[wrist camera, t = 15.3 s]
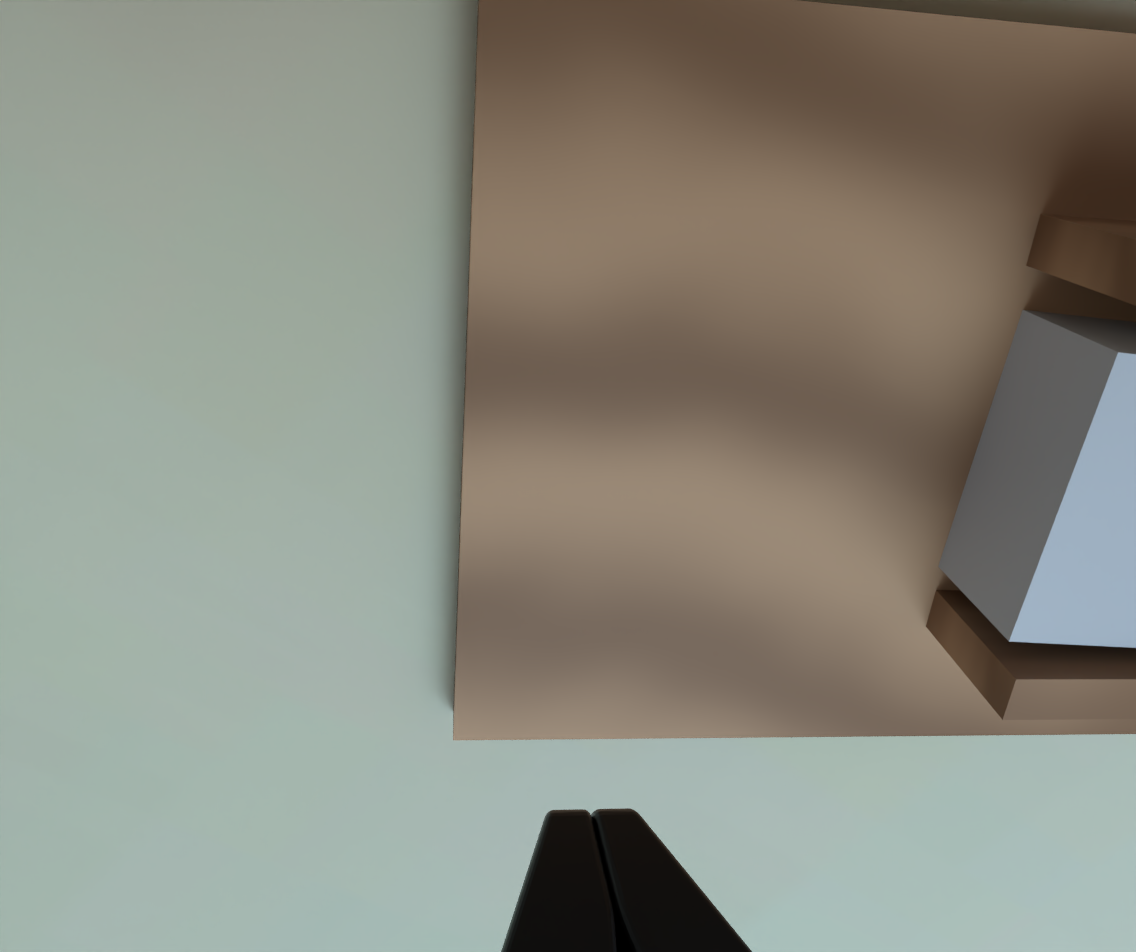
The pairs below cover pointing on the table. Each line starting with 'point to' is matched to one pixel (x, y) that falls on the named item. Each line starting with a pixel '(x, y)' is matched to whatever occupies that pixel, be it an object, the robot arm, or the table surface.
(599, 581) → the board
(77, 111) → the table surface
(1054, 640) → the blue-grey rectangular block
